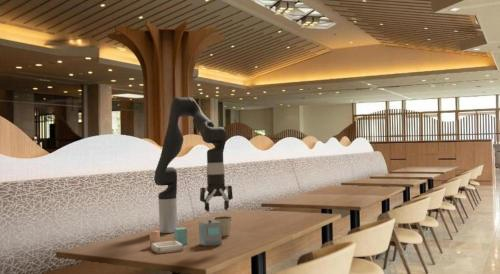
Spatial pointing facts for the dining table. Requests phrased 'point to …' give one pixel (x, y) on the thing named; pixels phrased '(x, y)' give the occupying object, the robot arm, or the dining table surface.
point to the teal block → (181, 235)
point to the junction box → (210, 233)
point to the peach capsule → (154, 236)
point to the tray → (167, 246)
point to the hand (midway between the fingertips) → (216, 210)
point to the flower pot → (224, 224)
